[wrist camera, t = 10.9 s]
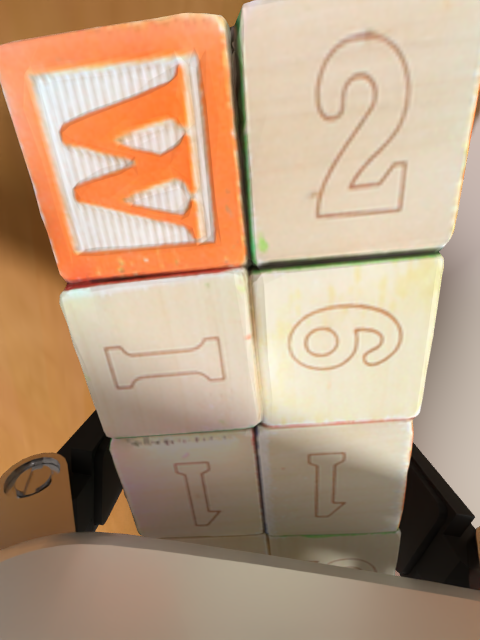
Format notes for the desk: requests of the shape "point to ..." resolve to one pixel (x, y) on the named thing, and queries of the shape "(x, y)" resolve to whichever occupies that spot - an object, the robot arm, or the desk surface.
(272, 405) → the stack of blocks
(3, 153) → the desk surface
